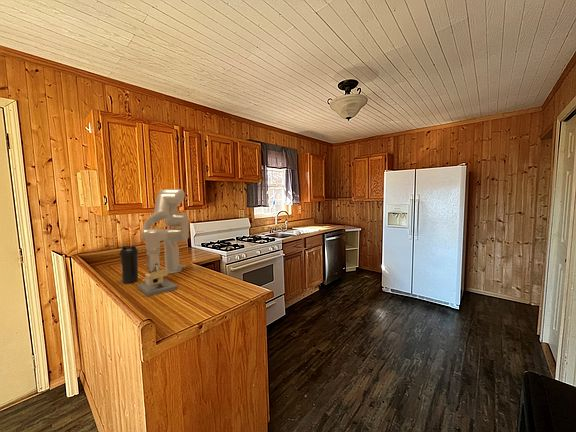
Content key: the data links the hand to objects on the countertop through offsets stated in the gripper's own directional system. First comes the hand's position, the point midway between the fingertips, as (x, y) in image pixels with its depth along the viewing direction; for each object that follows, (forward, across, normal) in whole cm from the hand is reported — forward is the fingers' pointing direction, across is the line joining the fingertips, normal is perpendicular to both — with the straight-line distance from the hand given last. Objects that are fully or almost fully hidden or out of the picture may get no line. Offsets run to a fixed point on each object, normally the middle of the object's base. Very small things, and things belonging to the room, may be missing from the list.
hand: (154, 280), depth 154 cm
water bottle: (+4, -22, -8) cm, 24 cm away
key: (+1, +11, -2) cm, 11 cm away
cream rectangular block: (+2, 0, 0) cm, 2 cm away
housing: (+4, +5, 0) cm, 6 cm away
